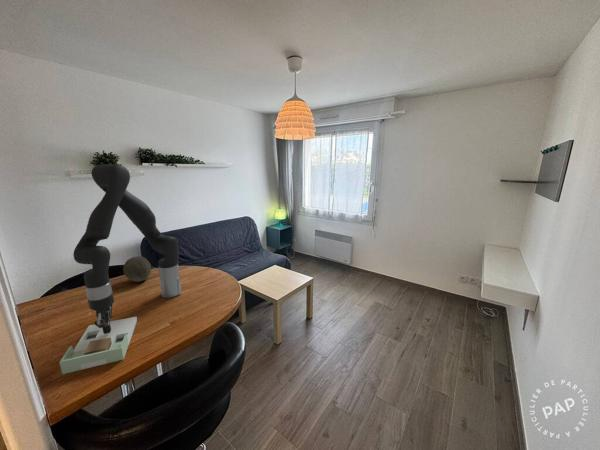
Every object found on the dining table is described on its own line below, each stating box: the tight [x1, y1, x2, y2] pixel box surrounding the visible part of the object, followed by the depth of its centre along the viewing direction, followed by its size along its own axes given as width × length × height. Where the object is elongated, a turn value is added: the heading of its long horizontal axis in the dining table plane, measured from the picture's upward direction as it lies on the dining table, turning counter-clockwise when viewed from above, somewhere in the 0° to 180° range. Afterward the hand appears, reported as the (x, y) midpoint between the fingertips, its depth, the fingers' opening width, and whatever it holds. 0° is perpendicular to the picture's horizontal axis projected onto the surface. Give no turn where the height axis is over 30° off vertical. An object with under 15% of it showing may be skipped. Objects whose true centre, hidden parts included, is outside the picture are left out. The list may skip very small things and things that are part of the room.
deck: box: [59, 316, 138, 375], centre depth 92 cm, size 17×24×5 cm
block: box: [84, 337, 112, 355], centre depth 86 cm, size 6×6×3 cm
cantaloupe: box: [122, 255, 152, 283], centre depth 140 cm, size 14×14×15 cm
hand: (107, 332), depth 95 cm, fingers closed
